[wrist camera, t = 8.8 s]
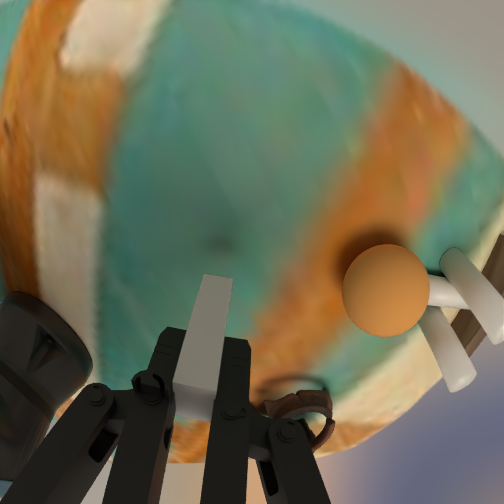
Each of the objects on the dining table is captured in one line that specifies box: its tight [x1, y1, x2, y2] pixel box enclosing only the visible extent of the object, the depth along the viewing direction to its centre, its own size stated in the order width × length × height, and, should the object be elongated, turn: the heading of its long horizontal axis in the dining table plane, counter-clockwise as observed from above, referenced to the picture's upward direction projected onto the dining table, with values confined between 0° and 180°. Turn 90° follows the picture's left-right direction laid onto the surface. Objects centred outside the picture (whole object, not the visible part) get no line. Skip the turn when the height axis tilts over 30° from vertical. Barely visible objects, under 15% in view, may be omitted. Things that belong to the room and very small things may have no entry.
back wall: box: [451, 234, 504, 357], centre depth 18 cm, size 2×13×4 cm, turn 170°
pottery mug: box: [264, 389, 335, 453], centre depth 26 cm, size 12×10×8 cm
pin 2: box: [418, 305, 477, 392], centre depth 17 cm, size 2×2×8 cm
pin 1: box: [439, 248, 504, 344], centre depth 15 cm, size 2×2×8 cm
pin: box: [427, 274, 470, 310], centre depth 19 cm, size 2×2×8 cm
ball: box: [342, 244, 430, 337], centre depth 16 cm, size 6×6×6 cm
